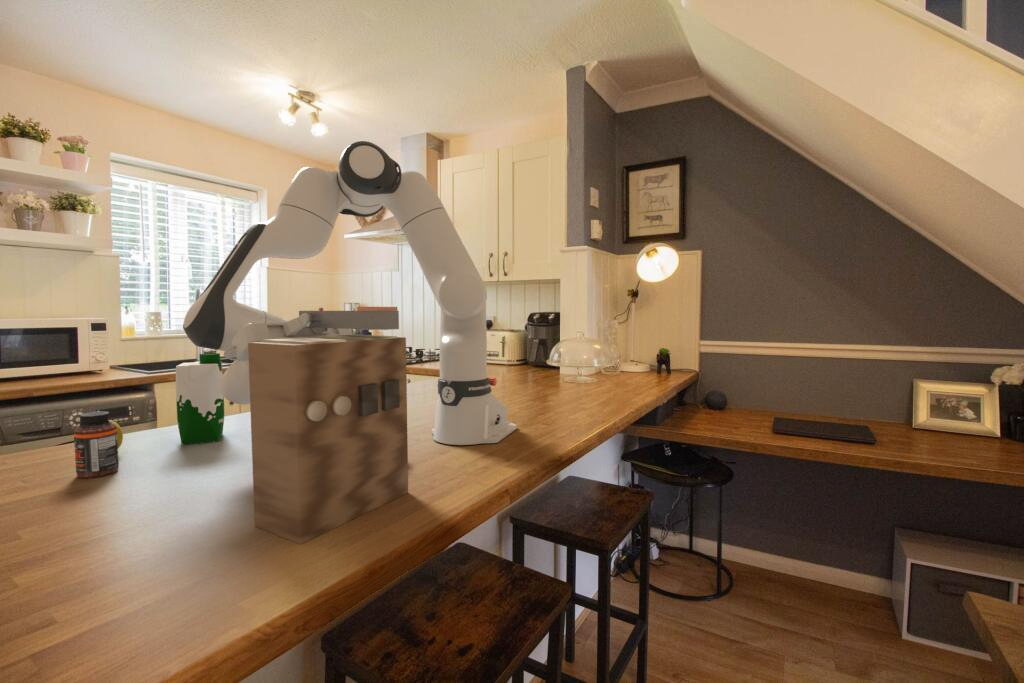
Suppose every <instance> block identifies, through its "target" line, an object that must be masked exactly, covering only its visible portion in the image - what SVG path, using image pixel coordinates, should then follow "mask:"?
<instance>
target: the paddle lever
mask: <svg viewBox="0 0 1024 683" xmlns="http://www.w3.org/2000/svg"><path fill="white" fill-rule="evenodd" d="M399 312H400V311H399V310H398V306H357V307H356V310H299V311H298V317H299V316H300V315H301V314H303V313H312V314H313V317H314V319H315V322H314V323H313V324H312V325H311V326H309V327H305V328H340V329H350V330H375V331H376V330H381V331H382V330H383V331H385V330H386V331H387V330H399V329H400V322H399V321H400V320H399V318H400V317H399V316H400V314H399Z"/></svg>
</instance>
